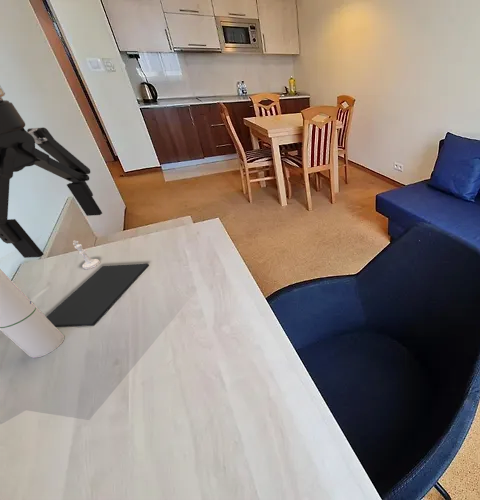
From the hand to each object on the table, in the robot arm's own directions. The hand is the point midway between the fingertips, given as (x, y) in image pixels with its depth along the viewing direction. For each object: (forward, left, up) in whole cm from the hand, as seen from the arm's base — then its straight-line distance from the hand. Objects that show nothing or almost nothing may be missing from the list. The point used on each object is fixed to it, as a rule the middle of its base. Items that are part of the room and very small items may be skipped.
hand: (67, 233), depth 54 cm
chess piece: (-42, +36, -33) cm, 64 cm away
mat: (-28, +21, -33) cm, 48 cm away
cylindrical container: (-28, +2, -33) cm, 43 cm away
